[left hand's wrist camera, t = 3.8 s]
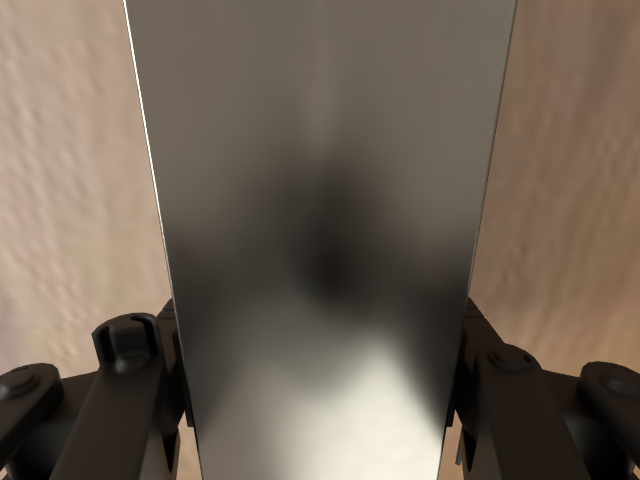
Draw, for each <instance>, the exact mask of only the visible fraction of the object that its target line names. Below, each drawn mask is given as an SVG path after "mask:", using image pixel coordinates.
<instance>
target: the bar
mask: <svg viewBox="0 0 640 480" xmlns="http://www.w3.org/2000/svg"><path fill="white" fill-rule="evenodd" d="M123 4H124V10H125V16H126V22H127V28H128V34H129V40H130V46H131V52H132V58H133V64H134V70H135V76H136V82H137V88H138V95H139V101H140V107H141V113H142V119H143V125H144V131H145V137H146V143H147V149H148V155H149V161H150V167H151V173H152V179H153V185H154V191H155V197H156V203H157V209H158V215H159V221H160V227H161V233H162V239H163V245H164V251H165V258H166V264H167V270H168V276H169V282H170V288H171V294H172V300H173V306H174V312H175V318H176V324H177V330H178V336H179V342H180V348H181V354H182V360H183V366H184V372H185V378H186V384H187V390H188V396H189V402H190V408H191V414H192V421H193V427H194V433H195V439H196V445H197V451H198V457H199V463H200V469H201V475H202V480H438V476H439V470H440V464H441V458H442V452H443V446H444V440H445V434H446V428H447V422H448V416H449V409H450V403H451V397H452V391H453V385H454V379H455V373H456V367H457V361H458V355H459V349H460V343H461V337H462V331H463V325H464V319H465V313H466V307H467V301H468V295H469V289H470V283H471V277H472V271H473V265H474V259H475V253H476V247H477V241H478V235H479V229H480V223H481V217H482V211H483V205H484V199H485V193H486V187H487V181H488V175H489V169H490V163H491V157H492V151H493V145H494V139H495V133H496V127H497V121H498V115H499V109H500V103H501V97H502V91H503V84H504V78H505V72H506V66H507V60H508V54H509V48H510V42H511V36H512V30H513V24H514V18H515V12H516V6H517V0H123Z"/></svg>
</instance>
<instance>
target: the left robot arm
mask: <svg viewBox="0 0 640 480" xmlns="http://www.w3.org/2000/svg"><path fill="white" fill-rule="evenodd" d="M92 338H93V341H94V345H95V349H96V353H97V356H98V360H99V364H100V367H99V369H98V371H95V372H92V373H87V374H83V375H78V376H73V377H68V378H64V379H61V378H60V375H59V371H58V369H57V368H56V367H55V366H54V365H52V364H46V363H37V364H29V365H25V366H22V367H18V368H15V369H13V370H11V371H9V372H7V373H5V374H3V375H1V376H0V471H1V470H2V469H3V468H4V467H5V468H6V471H7V474H6V476H5V477H4V478H3V479H2V480H176V476H177V468H178V459H179V450H180V435H179V429H178V424H179V422H180V420H181V418H182V415H183V413H184V411H185V414H186V420H187V426H188V427H193V421H192V414H191V408H190V402H189V396H188V390H187V384H186V378H185V372H184V366H183V360H182V354H181V348H180V342H179V336H178V330H177V324H176V318H175V312H174V306H173V300H172V298H171V299H170V300H169V301H168V302H167V304H166V305H165V306H164V308H163V309H162V311H161V312H160V313H159V314H158V315H157V317H155V316H154V315H152V314H148V313H130V314H125V315H121V316H118V317H115V318H113V319H110V320H108V321H106V322H104V323H103V324H101V325H100V326H98V327H97V328H96V329H95V330H94V332H93V333H92ZM455 409H456V412H457V414H458V416H459V419H460V421H461V423H462V429H461V434H460V440H459V445H458V451H457V456H456V463H455V464H457V465H460V464H461V458H462V467H463V476H464V480H639V479H638V477H637V476H636V475H635V474H634V472H633V470H634V468H635V465H637V467H638V468H639V469H640V374H639V373H637V372H635V371H633V370H631V369H629V368H627V367H624V366H621V365H618V364H614V363H608V362H600V361H596V362H589V363H587V364H586V365H584V366H583V367H582V370H581V373H580V377H574V376H570V375H565V374H560V373H555V372H551V371H547V370H543V369H542V368H541V366H540V364H539V363H538V362H537V360H536V359H535V358H534V357H533V356H532V355H530V354H529V353H528V352H526V351H525V350H523V349H520V348H518V347H516V346H514V345H510V344H506V343H504V342H503V341H502V339H501V338H500V337H499V335H498V334H497V333H496V331H495V330H494V329H493V327H492V326H491V325H490V323H489V322H488V321H487V320H486V318H484V316H483V314H482V313H481V312H480V310H478V308H477V306H476V305H475V304H474V302H473V301H472V300H471V299H470V298H469V297H468V301H467V307H466V313H465V319H464V325H463V331H462V337H461V343H460V349H459V355H458V361H457V367H456V373H455V379H454V385H453V391H452V397H451V403H450V409H449V416H448V422H447V427H452V424H453V419H454V413H455Z"/></svg>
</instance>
